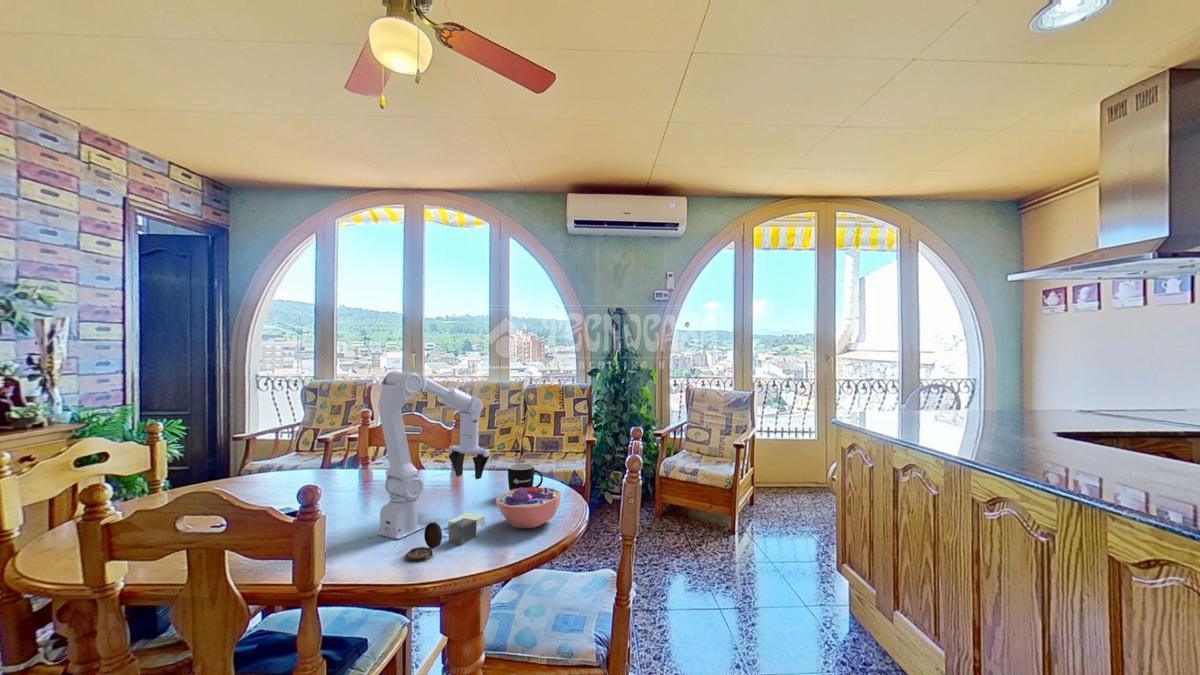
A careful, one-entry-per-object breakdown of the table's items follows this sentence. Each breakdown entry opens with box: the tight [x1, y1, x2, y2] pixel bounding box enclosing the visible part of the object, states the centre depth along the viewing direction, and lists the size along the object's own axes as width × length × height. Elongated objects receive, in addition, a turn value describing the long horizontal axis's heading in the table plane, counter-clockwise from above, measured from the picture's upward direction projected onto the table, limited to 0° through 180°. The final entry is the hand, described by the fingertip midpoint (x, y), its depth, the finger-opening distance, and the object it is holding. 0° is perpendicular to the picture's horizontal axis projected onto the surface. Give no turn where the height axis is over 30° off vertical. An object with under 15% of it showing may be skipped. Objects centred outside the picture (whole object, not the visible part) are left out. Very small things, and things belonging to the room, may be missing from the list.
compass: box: [405, 521, 443, 563], centre depth 119 cm, size 8×8×7 cm
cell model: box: [495, 487, 562, 529], centre depth 140 cm, size 17×20×11 cm
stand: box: [447, 511, 486, 529], centre depth 140 cm, size 8×6×2 cm
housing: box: [448, 518, 477, 546], centre depth 129 cm, size 6×4×5 cm
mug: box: [507, 462, 544, 492], centre depth 167 cm, size 12×9×10 cm
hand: (468, 477), depth 154 cm, fingers open, 7 cm apart
